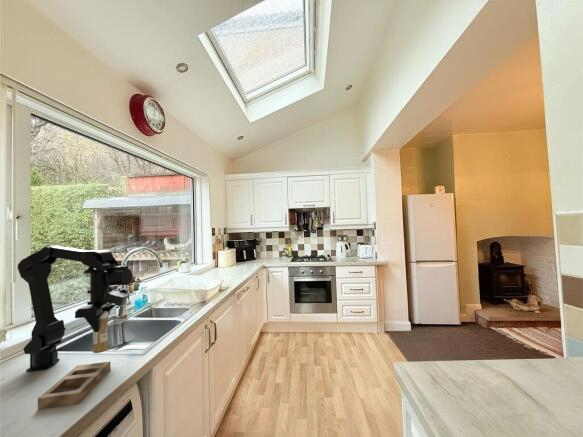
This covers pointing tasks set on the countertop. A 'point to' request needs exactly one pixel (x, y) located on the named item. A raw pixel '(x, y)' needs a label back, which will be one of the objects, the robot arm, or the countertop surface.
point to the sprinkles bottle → (101, 335)
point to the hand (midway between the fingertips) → (100, 329)
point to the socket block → (74, 385)
